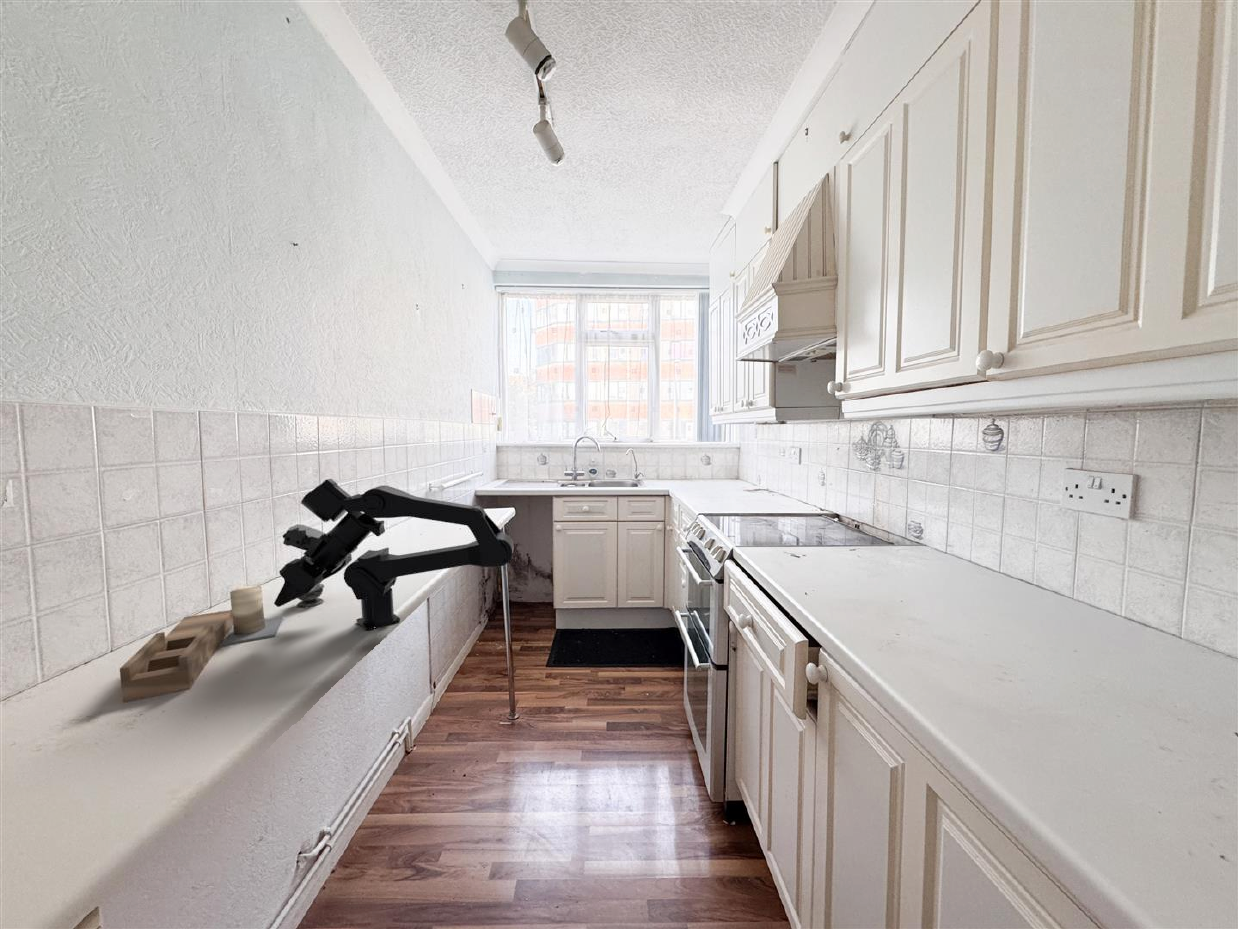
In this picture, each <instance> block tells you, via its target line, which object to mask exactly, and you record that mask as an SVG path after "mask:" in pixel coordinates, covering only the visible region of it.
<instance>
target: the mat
mask: <svg viewBox="0 0 1238 929" xmlns="http://www.w3.org/2000/svg"><path fill="white" fill-rule="evenodd" d="M283 620H284V616H278V617H274V618H273V617H272V618H266V619H265V618H264V622H265V628H264V629H262V630H260V631H258V632H255V633H252V634H247V635H235V634H234V628H233V627H232V628H231V630H230V631H229V633H228V634H227V635H226V637H225V638H224V640H223V641H222V643H221V646H228V645H234V644H239V643H240V644H241V643H245V642H251V641H257V640H261V639H267V638H273V637H276V635H277V633H278V630H279V628H280V626H281V624H282V622H283Z"/></svg>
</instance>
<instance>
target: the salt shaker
mask: <svg viewBox="0 0 1238 929" xmlns="http://www.w3.org/2000/svg"><path fill="white" fill-rule="evenodd" d="M299 559H304V560H306V561H307V562H308V563H310V564H311V565H312V564H313V563H312V562H311V560H310V559H311V558H308V557H307V556H305V555H304V554H303V556H300V558H299ZM324 588H325V584H322V583H320V584H319V585H318V586H317V587H316V588H315V589H313V590H312V591H311V592H309V593H308V594H305V595H303V596H301V597H299V598H297V599H298V600H300V601H299V602H298V603H296V608H298V607H299V608H298V609H305V608H306V607H307V608H312V607H316V606H319V605H321V603H322V604H323V603H324V602H325V600H324V599H323V598H320V596H321V595H322V594H323V591H324Z"/></svg>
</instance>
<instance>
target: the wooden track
mask: <svg viewBox="0 0 1238 929" xmlns="http://www.w3.org/2000/svg"><path fill="white" fill-rule="evenodd" d="M232 628H233V618H232V609H230V610H223V611H218V612H211V613H209V612H208V613H203V614H198V615H197V614H196V615H190V616H184V617H183V618H182V620H180V622H179V623H177V624H176V626H174V627H173V628H172V629H171V631H169V633H167V635H166V634H165V631H163V632H156V633H155V634H154V635H153V636H152V637H151V638H150V639H149V640H148V641H147V642H145V644H144V645H143V646H142V647H141V648H140V649H138V651H137V652H135V654H134V655H132V656H131V657H130V658H129V659H128V660H127V661H126V662H125V663H124V664H123V665H122V666H121V667H120V668H119V676H120V685H121V695H122V696H121V697H122V703H127V702H130V701H136V700H142V699H145V698H150V697H151V698H152V697H155V696H161V695H165V694H170V693H174V692H175V693H176V692H179V691H185V690H190V689H191V687H192V686H193V685H194V683H195V682H196V680H197V679H198V678H199V676H200V674H201V673H202V672H203V671H204V669H205V667H206V666H207V665H208V663H209V661H210V660H212V657H213V656H214V655H215V653H216V652H217V651H218V648H219V647H220V646H221V645H222V642H223V641H224V640H225V638H226V637H227V635H228V634H229V632H230V631H231V629H232ZM160 694H161V695H160Z"/></svg>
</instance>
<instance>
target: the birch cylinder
mask: <svg viewBox="0 0 1238 929" xmlns="http://www.w3.org/2000/svg"><path fill="white" fill-rule="evenodd" d="M262 592H263V591H262V586H261V585H248V586H243V587H239V588H236V589H233V590H231V591H230V592H229V594H230V605H231V610H232V618H233V627H232V628H234V634H235V635H247V634H252V633H255V632H258V631H260V630H262V629H264V628H265V622H264V620H265V614H264V613H265V612H264V601H263V593H262Z"/></svg>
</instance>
